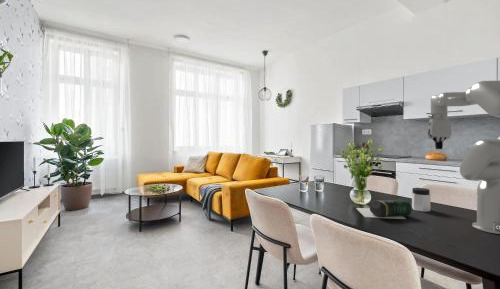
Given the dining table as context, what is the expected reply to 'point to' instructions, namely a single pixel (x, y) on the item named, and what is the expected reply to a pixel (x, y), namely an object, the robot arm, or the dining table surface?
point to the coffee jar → (390, 208)
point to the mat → (369, 214)
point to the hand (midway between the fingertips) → (438, 148)
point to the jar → (421, 199)
